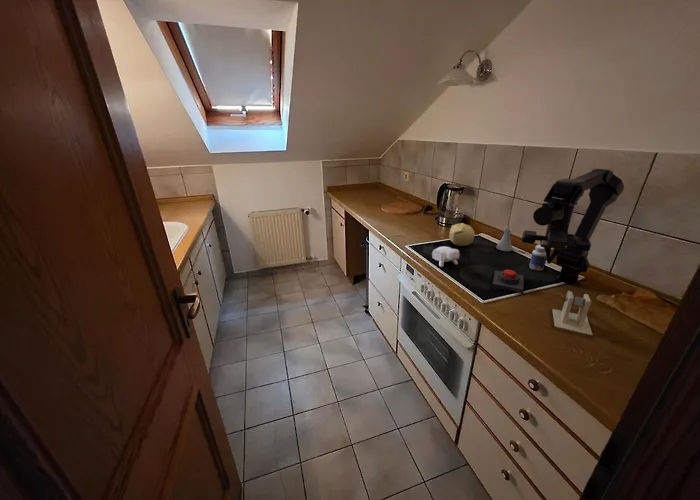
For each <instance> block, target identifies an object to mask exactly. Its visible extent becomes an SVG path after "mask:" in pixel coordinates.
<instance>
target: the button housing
mask: <svg viewBox="0 0 700 500" xmlns="http://www.w3.org/2000/svg"><path fill="white" fill-rule="evenodd" d="M493 274H494V276H493V281H492V284H491V289H492V290H495V291H501V290H505V291H510V292H515V293H518V294H523V293H524V285H525V284H524V282H525V281H524V280H525V277H524V275H523V274H520V273H519V274H518V273H517V272H516V276H515V278H507V277H505V276H503V274H504V270H502V271H501V270H494V273H493Z"/></svg>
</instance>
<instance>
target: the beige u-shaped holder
mask: <svg viewBox="0 0 700 500" xmlns="http://www.w3.org/2000/svg"><path fill="white" fill-rule="evenodd" d="M589 295H590V294H587V293H584V294H583V297H582V298H584V301H583V306H579V309H578V312H577V313H575V312H571V309H572V306H573V305H572V303H573V300H574V297H573V296H574V294H573V291H571V290H567V293H566V296H564V297H565V302H564V301H563V306H562V309H561V310H560V309H556V308H552V317H553V324H554V327H555V328H556V329H562V330H565V331H566V330H567V331H571V332H575V333H579V334H583V335H587V336H593V332H592V329H591V326H590V322H589V319H588V316H587V315H588V312H589V309H590V306H592V301H591V298H590V296H589Z"/></svg>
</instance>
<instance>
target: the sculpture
mask: <svg viewBox="0 0 700 500" xmlns="http://www.w3.org/2000/svg"><path fill="white" fill-rule="evenodd" d="M474 230H475V229H473V227H472V226H470V225H469V224H465V223H464V222H460V223H455V224H452V225H451V227H450V230H449V233H448V235H449V240H450V242H451V243H452V244H453V245H455V246H459V247H467V246H470V245H471V244H473V242H474V239H475V231H474Z"/></svg>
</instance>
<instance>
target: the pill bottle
mask: <svg viewBox="0 0 700 500" xmlns="http://www.w3.org/2000/svg"><path fill="white" fill-rule="evenodd" d="M546 264H547V257H546V252H545V249H544V247H541V246H540V244H536V245H535V247H534V250H533V251H532V252H531V256H530V261H529V268H530V269H531V270H534V271H544V269H545V266H546Z"/></svg>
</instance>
